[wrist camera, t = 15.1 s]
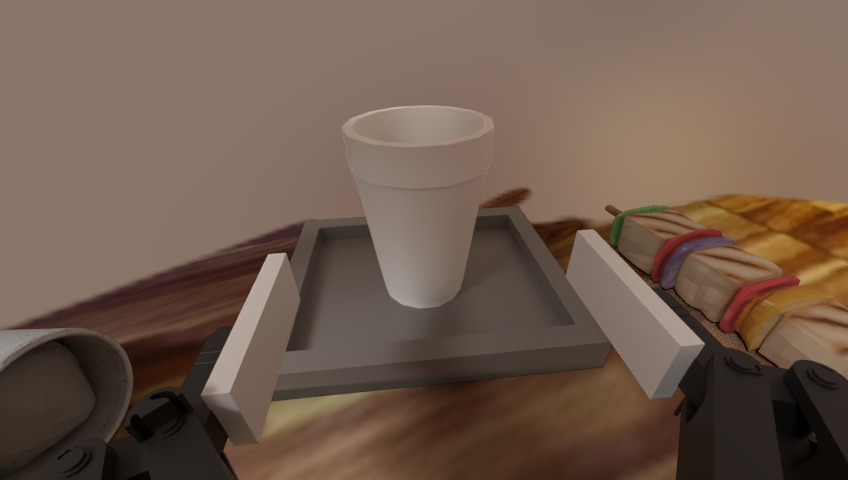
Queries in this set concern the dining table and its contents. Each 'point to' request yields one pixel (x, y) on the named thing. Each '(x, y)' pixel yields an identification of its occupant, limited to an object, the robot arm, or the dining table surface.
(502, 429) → the dining table surface
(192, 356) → the dining table surface
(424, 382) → the cafeteria tray
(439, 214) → the foam cup
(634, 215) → the skewer
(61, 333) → the ceramic mug
